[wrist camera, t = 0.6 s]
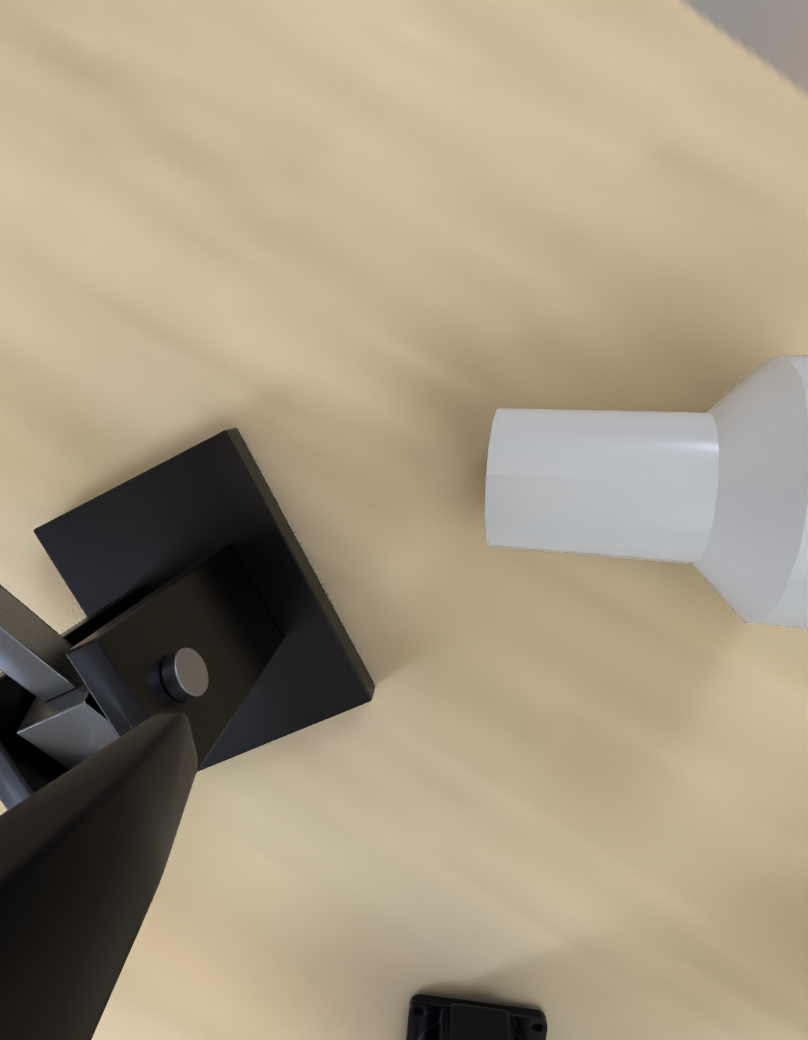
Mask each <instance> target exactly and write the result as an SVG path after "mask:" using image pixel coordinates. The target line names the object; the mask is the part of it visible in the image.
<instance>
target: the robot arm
mask: <svg viewBox="0 0 808 1040" xmlns="http://www.w3.org/2000/svg"><path fill="white" fill-rule="evenodd" d="M197 762H198V761H197V752H196V748H195V743H194V739H193V734H192V730H191V725H190V721H189V718H188V717H187V715H186V714H184V713H182V712H159V713H156V714H154V715H152V716H151V717H149V718H148V719H146V720H145V721H143V722H142V723H140V724H139V725H137V726H136V727H134V728H132V729H131V730H129V731H128V732H126V733H125V734H123V735H122V736H120V737H119V738H117V739H116V740H114V741H113V742H111V743H110V744H108V745H107V746H105V747H104V748H102V749H101V750H99V751H97V752H96V753H94V754H93V755H91V756H90V757H88V758H87V759H85V760H84V761H82V762H81V763H79V764H78V765H76V766H75V767H73V768H72V769H70V770H69V771H67V772H66V773H64V774H63V775H61V776H59V777H58V778H56V779H55V780H53V781H52V782H50V783H49V784H47V785H46V786H44V787H43V788H41V789H40V790H38V791H37V792H35V793H34V794H32V795H31V796H29V797H28V798H26V799H24V800H23V801H21V802H20V803H18V804H17V805H15V806H14V807H12V808H11V809H9V810H8V811H6V812H5V813H3V814H2V815H0V1040H91V1039H92V1037H93V1034H94V1032H95V1030H96V1027H97V1025H98V1023H99V1021H100V1018H101V1016H102V1014H103V1011H104V1009H105V1007H106V1005H107V1002H108V1000H109V998H110V995H111V993H112V991H113V989H114V986H115V984H116V982H117V980H118V977H119V975H120V973H121V970H122V968H123V966H124V964H125V961H126V959H127V957H128V954H129V952H130V950H131V948H132V945H133V943H134V941H135V938H136V936H137V934H138V932H139V929H140V927H141V925H142V922H143V920H144V918H145V916H146V913H147V911H148V909H149V906H150V904H151V902H152V900H153V897H154V895H155V892H156V890H157V887H158V885H159V883H160V880H161V877H162V875H163V872H164V869H165V866H166V863H167V860H168V857H169V854H170V851H171V848H172V845H173V842H174V839H175V836H176V833H177V830H178V827H179V824H180V821H181V817H182V814H183V811H184V808H185V805H186V802H187V799H188V796H189V793H190V790H191V787H192V784H193V781H194V778H195V774H196V770H197ZM546 1034H547V1021H546V1016H545V1014H544V1013H543V1012H541V1011H539V1010H534V1009H527V1008H519V1007H512V1006H504V1005H497V1004H489V1003H482V1002H474V1001H466V1000H459V999H451V998H444V997H436V996H429V995H421V994H420V995H414V996H413V997H412V998H411V999H410V1004H409V1015H408V1026H407V1038H406V1040H546Z"/></svg>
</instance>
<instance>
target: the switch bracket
mask: <svg viewBox="0 0 808 1040" xmlns="http://www.w3.org/2000/svg"><path fill="white" fill-rule="evenodd" d="M34 533H35V534H36V536H37V537H38V539H39V541H40V542H41V544H42V545H43V547H44V549H45V550H46V552H47V554H48V555H49V557H50V558H51V560H52V562H53V563H54V565H55V566H56V568H57V570H58V571H59V573H60V574H61V576H62V578H63V579H64V581H65V582H66V584H67V586H68V587H69V589H70V590H71V592H72V594H73V595H74V597H75V598H76V600H77V602H78V603H79V605H80V606H81V608H82V610H83V611H84V613H85V614H86V616H87V618H86V619H84V620H82V621H81V622H79V623H78V624H76V625H75V626H73V627H71V628H70V629H68V630H67V631H65V632H64V633H62V634H60V635H61V636H62V637H63V638H64V639H65V640H67V641H68V642H69V643H70V644H71V645H73V646H74V647H73V648H71V649H70V650H68V651H67V653H66V656H67V657H68V659H69V660H70V662H71V663H72V665H73V667H74V668H75V670H76V671H77V673H78V674H79V676H80V677H81V679H82V681H83V682H84V684H85V685H86V687H87V688H88V690H89V692H90V693H91V695H92V696H93V698H94V699H95V701H96V703H97V704H98V706H99V707H100V709H101V710H102V712H103V713H104V715H105V717H106V718H107V720H108V721H109V723H110V724H111V726H112V728H113V729H114V731H115V732H116V734H117V735H118V737H120V736H122V735H123V734H125V733H126V732H128V731H129V730H131V729H132V728H134V727H136V726H137V725H139V724H140V723H142V722H143V721H145V720H146V719H148V718H149V717H151V716H152V715H154V714H156V713H159V712H182V713H184V714H186V715H187V717H188V718H189V721H190V725H191V730H192V734H193V739H194V743H195V748H196V752H197V761H198V762H197V770H196V773H197V772H198V771H200V770H202V769H205V768H207V767H210V766H212V765H215V764H217V763H220V762H222V761H225V760H227V759H229V758H232V757H234V756H237V755H239V754H242V753H244V752H247V751H249V750H252V749H254V748H256V747H259V746H261V745H264V744H266V743H269V742H271V741H274V740H276V739H279V738H281V737H283V736H286V735H288V734H291V733H293V732H296V731H298V730H301V729H303V728H306V727H308V726H310V725H313V724H315V723H318V722H320V721H323V720H325V719H328V718H330V717H333V716H335V715H337V714H340V713H342V712H345V711H347V710H350V709H352V708H355V707H357V706H360V705H362V704H364V703H367V702H369V701H371V700H372V697H373V693H374V689H375V685H374V683H373V681H372V679H371V677H370V675H369V673H368V671H367V670H366V668H365V666H364V664H363V662H362V660H361V658H360V657H359V655H358V653H357V651H356V649H355V647H354V645H353V644H352V642H351V640H350V638H349V636H348V634H347V632H346V630H345V629H344V627H343V625H342V623H341V621H340V619H339V617H338V616H337V614H336V612H335V610H334V608H333V606H332V604H331V602H330V601H329V599H328V597H327V595H326V593H325V591H324V589H323V588H322V586H321V584H320V582H319V580H318V578H317V576H316V575H315V573H314V571H313V569H312V567H311V565H310V563H309V561H308V560H307V558H306V556H305V554H304V552H303V550H302V548H301V547H300V545H299V543H298V541H297V539H296V537H295V535H294V533H293V532H292V530H291V528H290V526H289V524H288V522H287V520H286V519H285V517H284V515H283V513H282V511H281V509H280V507H279V506H278V504H277V502H276V500H275V498H274V496H273V494H272V492H271V491H270V489H269V487H268V485H267V483H266V481H265V479H264V478H263V476H262V474H261V472H260V470H259V468H258V466H257V465H256V463H255V461H254V459H253V457H252V455H251V453H250V451H249V450H248V448H247V446H246V444H245V442H244V440H243V438H242V437H241V435H240V433H239V431H238V429H237V428H234V429H229V430H224V431H222V432H221V433H219V434H217V435H215V436H213V437H211V438H209V439H207V440H205V441H203V442H201V443H199V444H197V445H196V446H194V447H192V448H190V449H188V450H186V451H184V452H182V453H180V454H178V455H176V456H174V457H172V458H171V459H169V460H167V461H165V462H163V463H161V464H159V465H157V466H155V467H153V468H151V469H149V470H147V471H146V472H144V473H142V474H140V475H138V476H136V477H134V478H132V479H130V480H128V481H126V482H124V483H123V484H121V485H119V486H117V487H115V488H113V489H111V490H109V491H107V492H105V493H103V494H101V495H99V496H98V497H96V498H94V499H92V500H90V501H88V502H86V503H84V504H82V505H80V506H78V507H76V508H74V509H73V510H71V511H69V512H67V513H65V514H63V515H61V516H59V517H57V518H55V519H53V520H51V521H49V522H48V523H46V524H44V525H42V526H40V527H38V528H36V529H34ZM35 698H36V696H35V695H33V694H32V693H31V692H29V691H28V690H27V689H25V688H24V687H23V686H21V685H20V684H19V683H17V682H16V681H15V680H13V679H12V678H11V677H9V676H8V675H7V674H5V673H4V672H1V673H0V800H1V802H2V803H3V805H4V806H5V807H6V809H7V810H9V809H11V808H12V807H14V806H15V805H17V804H18V803H20V802H21V801H23V800H24V799H26V798H28V797H29V796H31V795H32V794H34V793H35V792H37V791H38V790H40V789H41V788H43V787H44V786H46V785H47V784H49V783H50V782H52V781H53V780H55V779H56V778H58V777H59V776H61V775H63V774H64V773H66V772H67V771H69V769H68V768H66V767H65V766H63V765H62V764H61V763H59V762H58V761H56V760H55V759H53V758H52V757H50V756H49V755H47V754H46V753H45V752H43V751H42V750H40V749H39V748H37V747H36V746H34V745H33V744H31V743H30V742H29V741H27V740H26V739H24V738H23V737H21V736H20V735H18V734H17V730H18V728H19V727H20V725H21V723H22V721H23V719H24V718H25V716H26V714H27V712H28V710H29V709H30V707H31V705H32V703H33V701H34V700H35ZM195 775H196V774H195Z"/></svg>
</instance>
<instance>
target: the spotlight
mask: <svg viewBox="0 0 808 1040" xmlns="http://www.w3.org/2000/svg"><path fill="white" fill-rule="evenodd" d="M485 531H486V538H487V544H488V545H489V546H490V547H497V548H508V549H520V550H532V551H544V552H555V553H567V554H579V555H590V556H602V557H614V558H625V559H637V560H649V561H660V562H672V563H684V564H692V565H693V566H694V567H695V568H696V569H697V570H698V571H699V573H700V574H701V575H702V576H703V577H704V578H705V579H706V580H707V582H708V583H709V584H710V585H711V586H712V587H713V588H714V589H715V591H716V592H717V593H718V594H719V595H720V596H721V597H722V598H723V600H724V601H725V602H726V603H727V604H728V605H729V606H730V607H731V609H732V610H733V611H734V612H735V613H736V614H737V615H738V616H739V618H740V619H741V620H742V621H743V622H744V623H750V624H760V625H769V626H778V627H787V628H797V629H806V630H808V355H786V356H779V357H772V358H768V359H766V360H765V361H764V362H763V363H762V364H761V365H759V366H758V367H757V368H756V369H755V370H754V371H752V372H751V373H750V374H749V375H748V376H747V377H746V378H744V379H743V380H742V381H741V382H740V383H739V384H737V385H736V386H735V387H734V388H733V389H732V390H730V391H729V392H728V393H727V394H726V395H725V396H724V397H722V398H721V399H720V400H719V401H718V402H717V403H715V404H714V405H713V406H712V407H711V408H710V409H708V410H707V411H706V412H664V411H617V410H569V409H522V408H499V409H497V410H496V413H495V416H494V419H493V423H492V429H491V435H490V441H489V449H488V459H487V469H486V486H485Z"/></svg>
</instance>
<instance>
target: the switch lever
mask: <svg viewBox="0 0 808 1040" xmlns="http://www.w3.org/2000/svg"><path fill="white" fill-rule="evenodd" d="M73 647H74V646H73V645H71V644H70V643H69V642H68V641H67V640H65V639H64V638H63V637H62V636H61V635H59V634H58V633H57V632H56V631H55V630H54V629H52V628H51V627H50V626H49V625H48V624H46V623H45V622H44V621H43V620H42V619H40V618H39V617H38V616H37V615H36V614H35V613H33V612H32V611H31V610H30V609H29V608H27V607H26V606H25V605H24V604H23V603H21V602H20V601H19V600H18V599H17V598H16V597H14V596H13V595H12V594H11V593H10V592H8V591H7V590H6V589H5V588H4V587H3V586H1V585H0V670H1V671H2V672H4V673H5V674H7V675H8V676H9V677H11V678H12V679H13V680H15V681H16V682H17V683H19V684H20V685H21V686H23V687H24V688H25V689H27V690H28V691H29V692H31V693H32V694H33V695H35V696H36V698H35V700H34V701H33V703H32V705H31V707H30V709H29V710H28V712H27V714H26V716H25V718H24V719H23V721H22V723H21V725H20V727H19V728H18V730H17V734H18V735H20V736H21V737H23V738H24V739H26V740H27V741H29V742H30V743H31V744H33V745H34V746H36V747H37V748H39V749H40V750H42V751H43V752H45V753H46V754H47V755H49V756H50V757H52V758H53V759H55V760H56V761H58V762H59V763H61V764H62V765H63V766H65V767H66V768H68V769H69V770H70V769H72V768H73V767H75V766H76V765H78V764H79V763H81V762H82V761H84V760H85V759H87V758H88V757H90V756H91V755H93V754H94V753H96V752H97V751H99V750H101V749H102V748H104V747H105V746H107V745H108V744H110V743H111V742H113V741H114V740H116V739H117V738H119V737H118V735H117V734H116V732H115V731H114V729H113V728H112V726H111V724H110V723H109V721H108V720H107V718H106V717H105V715H104V713H103V712H102V710H101V709H100V707H99V706H98V704H97V703H96V701H95V699H94V698H93V696H92V695H91V693H90V692H89V690H88V688H87V687H86V685H85V684H84V682H83V681H82V679H81V677H80V676H79V674H78V673H77V671H76V670H75V668H74V667H73V665H72V663H71V662H70V660H69V659H68V657H67V656H66V653H67V651H68V650H70V649H71V648H73Z"/></svg>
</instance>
